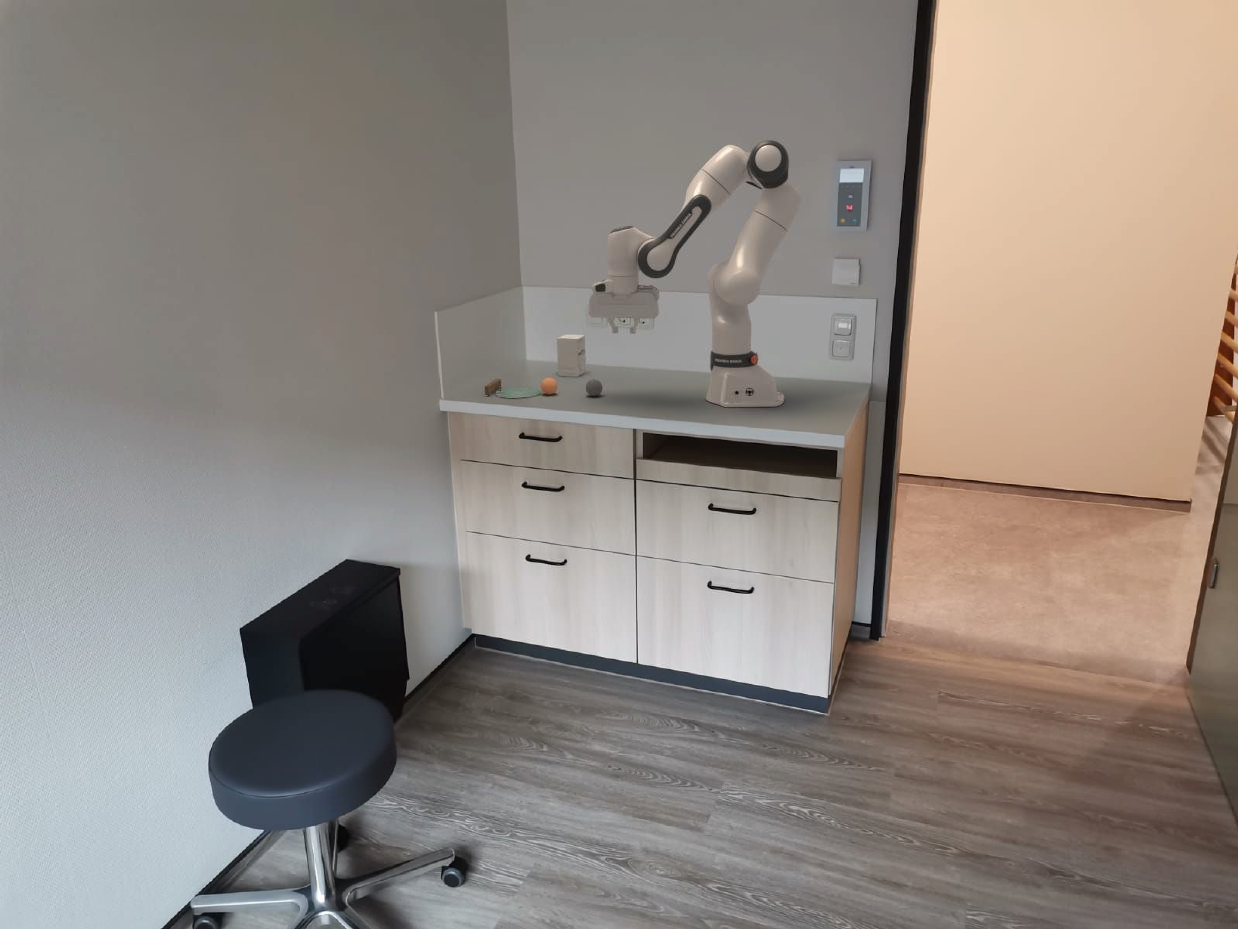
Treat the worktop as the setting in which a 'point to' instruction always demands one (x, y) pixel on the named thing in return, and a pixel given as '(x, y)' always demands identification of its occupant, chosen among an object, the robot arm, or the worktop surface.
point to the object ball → (549, 386)
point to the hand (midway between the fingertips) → (624, 333)
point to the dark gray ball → (594, 387)
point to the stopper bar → (493, 387)
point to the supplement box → (571, 355)
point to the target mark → (510, 393)
